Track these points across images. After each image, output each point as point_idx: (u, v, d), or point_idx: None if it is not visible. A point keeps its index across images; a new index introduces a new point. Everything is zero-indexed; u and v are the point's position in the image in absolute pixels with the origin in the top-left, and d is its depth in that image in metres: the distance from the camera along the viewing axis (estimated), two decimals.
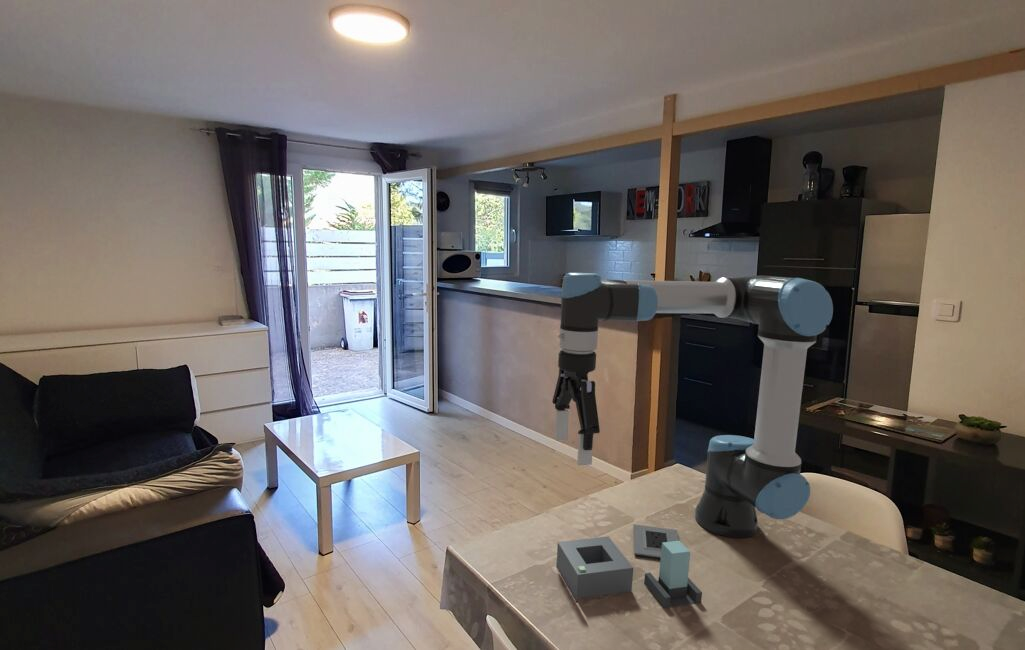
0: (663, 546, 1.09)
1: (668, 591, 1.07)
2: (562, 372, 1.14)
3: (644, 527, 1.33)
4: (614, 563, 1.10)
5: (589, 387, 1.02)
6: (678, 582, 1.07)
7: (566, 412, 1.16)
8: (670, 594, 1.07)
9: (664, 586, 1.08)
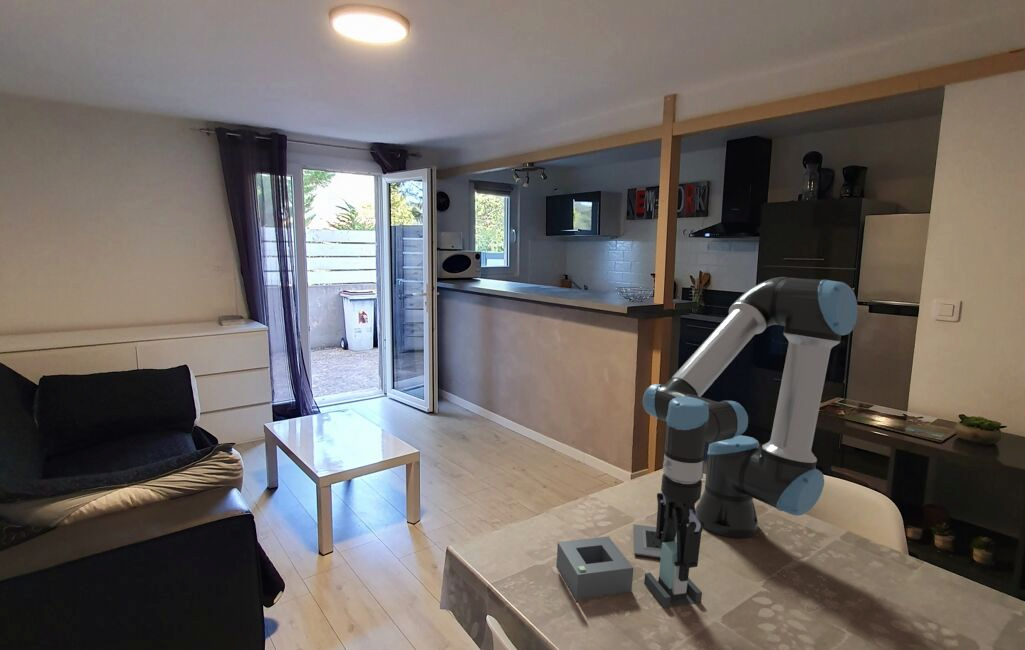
0: (663, 546, 1.09)
1: (668, 591, 1.07)
2: (661, 498, 1.11)
3: (644, 527, 1.33)
4: (614, 563, 1.10)
5: (697, 529, 1.01)
6: None
7: None
8: (670, 594, 1.07)
9: (664, 586, 1.08)
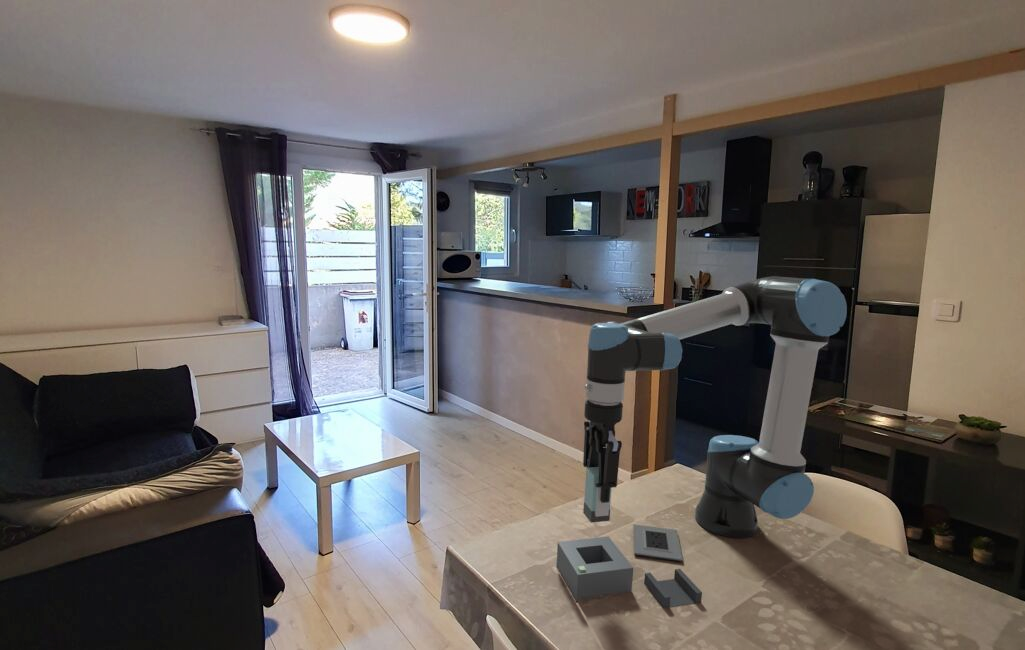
0: (587, 471, 1.11)
1: (591, 514, 1.09)
2: (587, 426, 1.14)
3: (644, 527, 1.33)
4: (614, 563, 1.10)
5: (615, 448, 1.03)
6: None
7: None
8: (593, 516, 1.09)
9: (588, 510, 1.10)
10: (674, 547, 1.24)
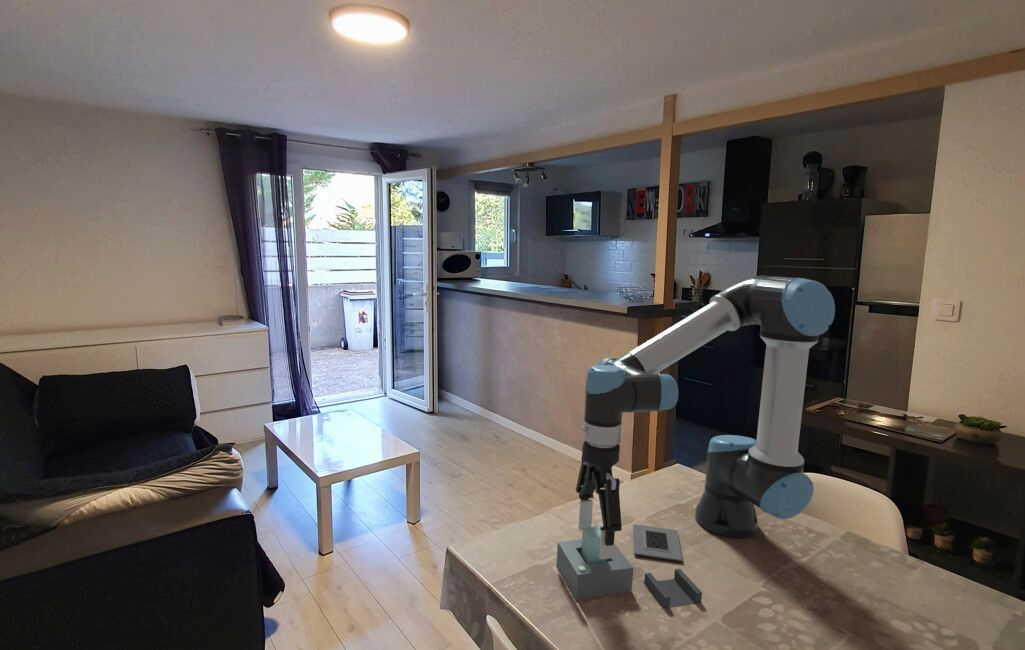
0: (584, 531, 1.13)
1: None
2: (585, 460, 1.15)
3: (644, 527, 1.33)
4: (614, 563, 1.10)
5: (614, 486, 1.03)
6: None
7: (590, 502, 1.17)
8: None
9: None
10: (674, 548, 1.24)
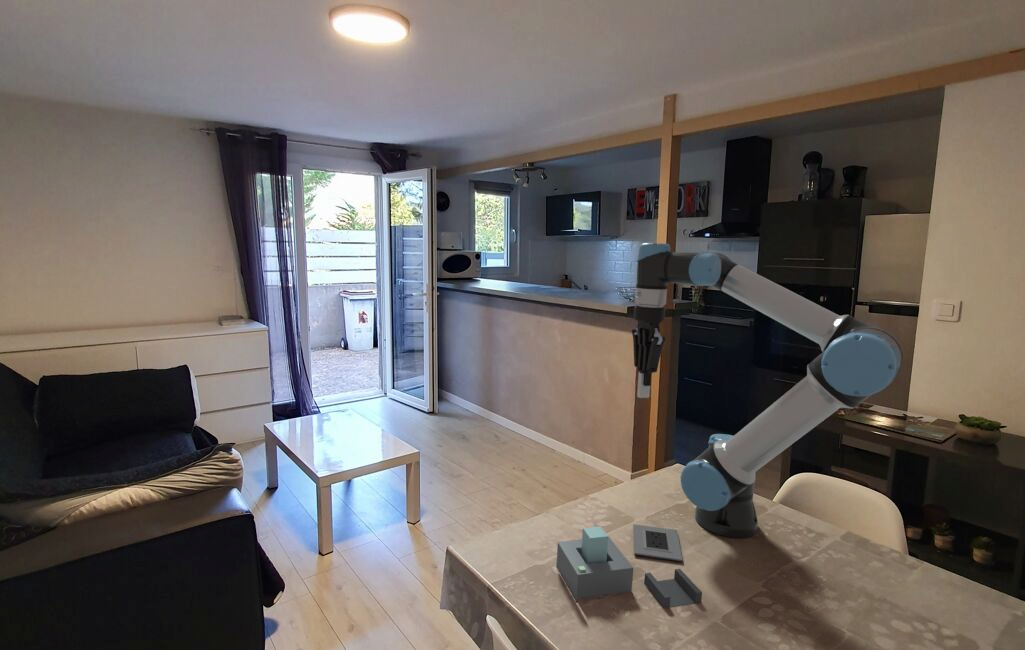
0: (584, 531, 1.13)
1: None
2: (635, 332, 1.39)
3: (644, 527, 1.33)
4: (614, 563, 1.10)
5: (659, 342, 1.29)
6: None
7: None
8: None
9: None
10: (674, 547, 1.24)
